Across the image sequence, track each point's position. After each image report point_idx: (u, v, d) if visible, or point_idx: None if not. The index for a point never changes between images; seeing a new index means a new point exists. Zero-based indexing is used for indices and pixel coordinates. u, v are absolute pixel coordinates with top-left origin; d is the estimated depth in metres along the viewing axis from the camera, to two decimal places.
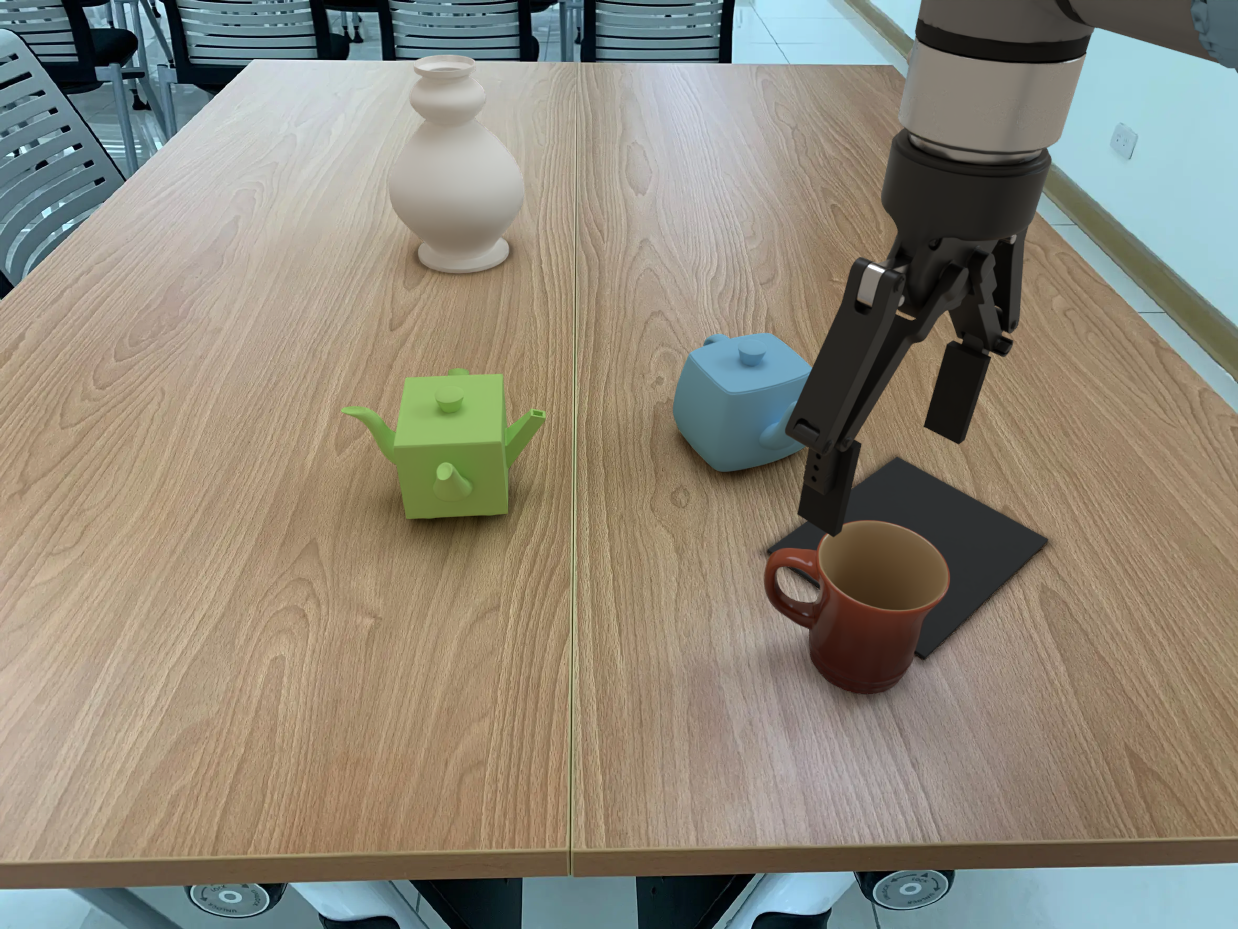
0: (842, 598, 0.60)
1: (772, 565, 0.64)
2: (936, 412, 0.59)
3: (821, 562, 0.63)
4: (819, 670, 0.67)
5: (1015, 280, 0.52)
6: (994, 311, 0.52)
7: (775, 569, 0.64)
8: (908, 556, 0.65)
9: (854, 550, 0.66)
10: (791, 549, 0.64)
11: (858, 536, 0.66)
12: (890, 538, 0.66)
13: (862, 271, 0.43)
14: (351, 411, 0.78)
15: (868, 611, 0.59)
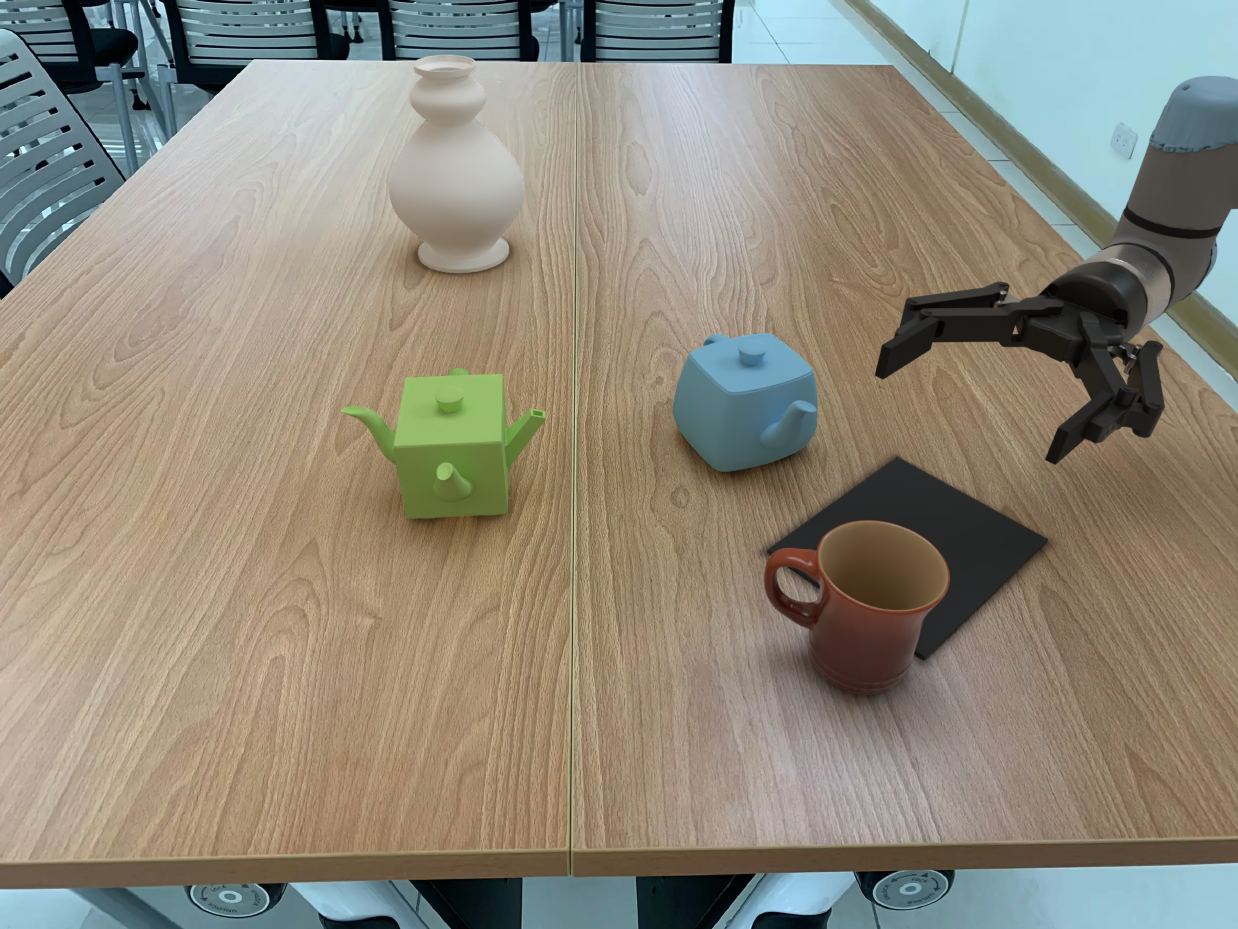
0: (842, 598, 0.60)
1: (772, 565, 0.64)
2: None
3: (821, 562, 0.63)
4: (819, 670, 0.67)
5: (1148, 372, 0.63)
6: (1116, 370, 0.63)
7: (775, 569, 0.64)
8: (908, 556, 0.65)
9: (854, 550, 0.66)
10: (791, 549, 0.64)
11: (858, 536, 0.66)
12: (890, 538, 0.66)
13: None
14: (351, 411, 0.78)
15: (869, 611, 0.59)
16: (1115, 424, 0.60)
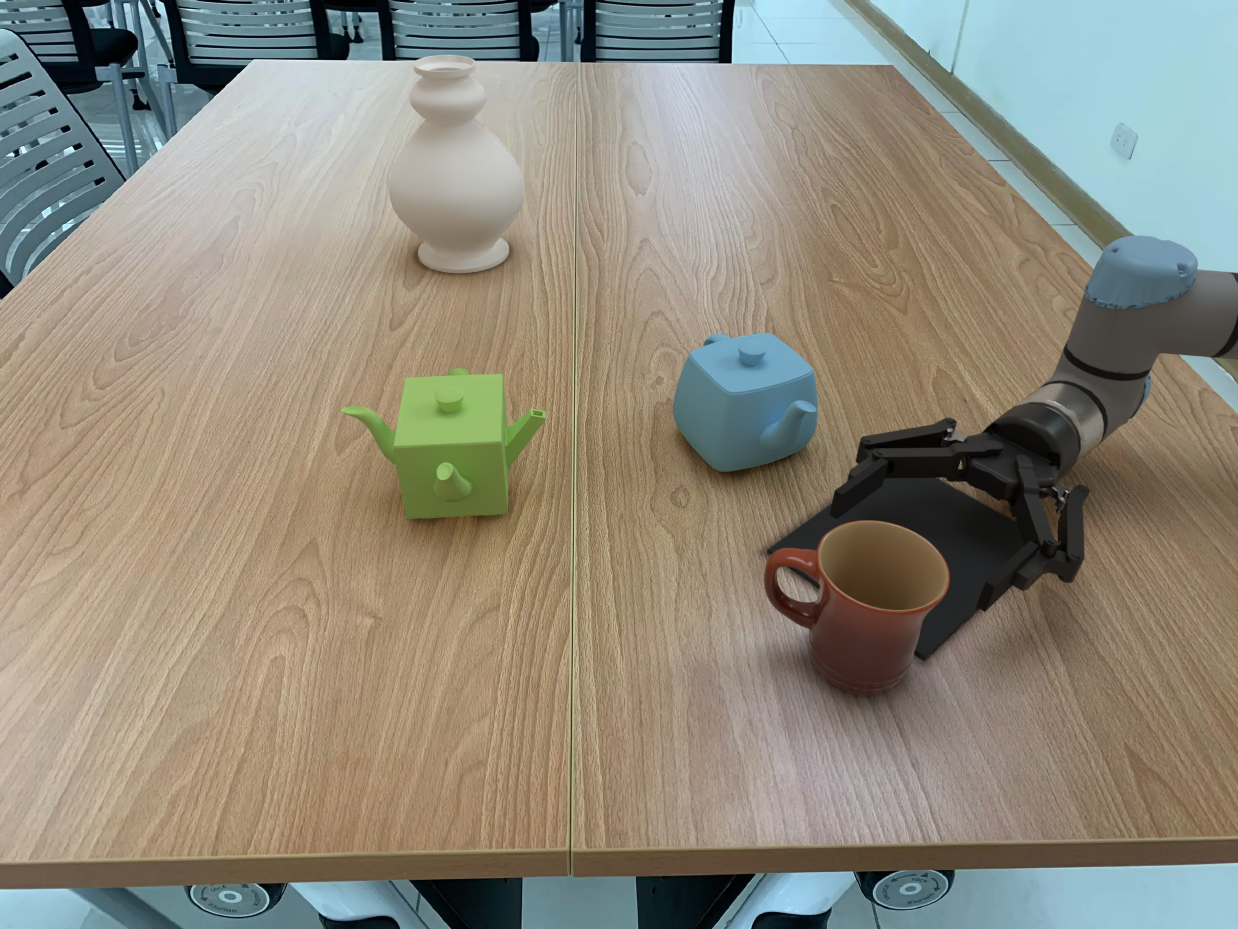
0: (842, 598, 0.60)
1: (772, 565, 0.64)
2: None
3: (821, 562, 0.63)
4: (819, 670, 0.67)
5: (1074, 520, 0.70)
6: (1045, 517, 0.70)
7: (775, 569, 0.64)
8: (908, 556, 0.65)
9: (854, 550, 0.66)
10: (791, 549, 0.64)
11: (858, 536, 0.66)
12: (890, 538, 0.66)
13: None
14: (351, 411, 0.78)
15: (868, 610, 0.59)
16: (1040, 573, 0.67)
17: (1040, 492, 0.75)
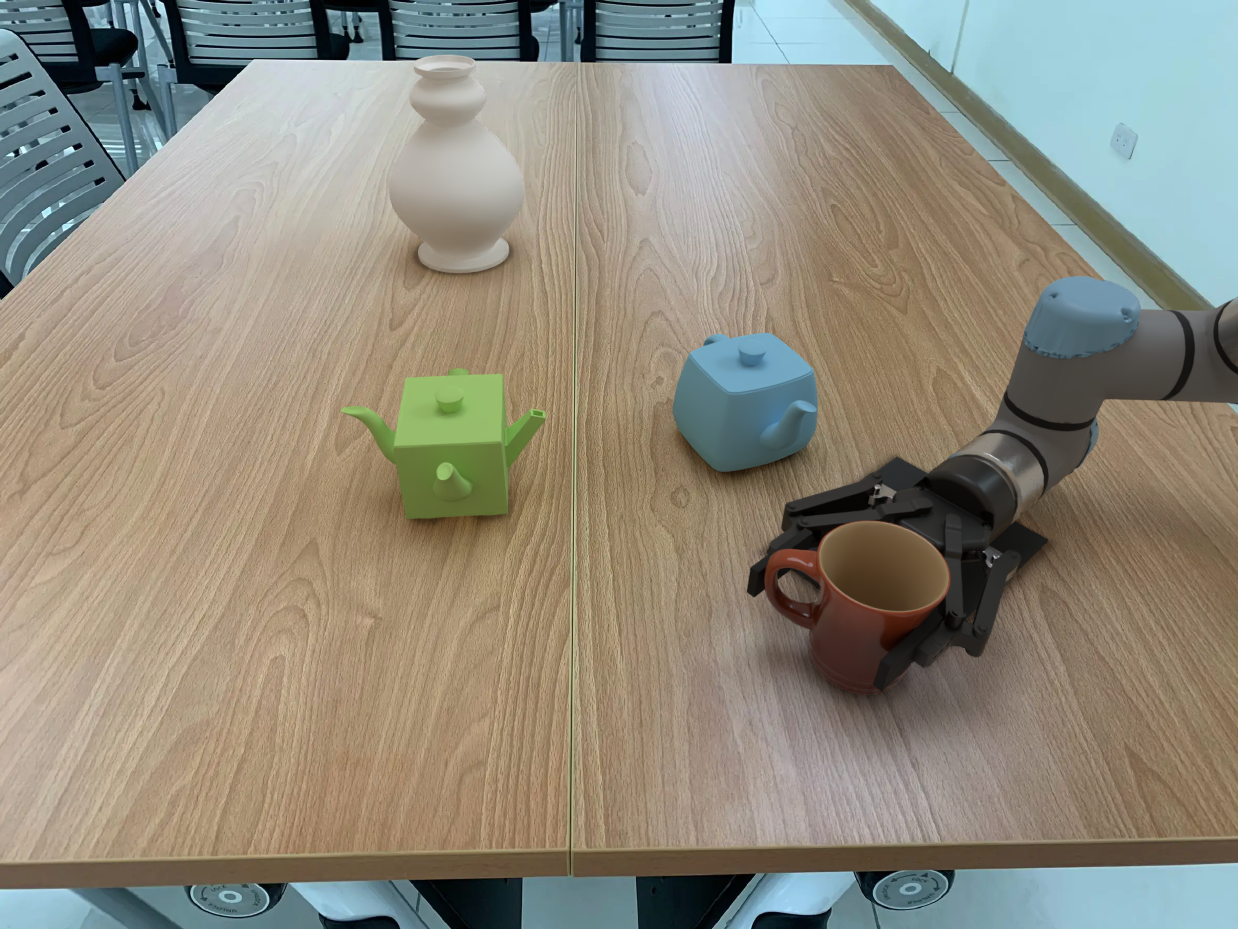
0: (843, 599, 0.60)
1: (773, 566, 0.64)
2: None
3: (822, 563, 0.63)
4: (820, 671, 0.67)
5: (992, 589, 0.65)
6: (960, 585, 0.65)
7: (775, 570, 0.64)
8: (908, 556, 0.65)
9: (854, 551, 0.66)
10: (791, 550, 0.64)
11: (858, 536, 0.66)
12: (890, 538, 0.66)
13: None
14: (351, 411, 0.78)
15: (870, 612, 0.59)
16: (944, 647, 0.62)
17: (972, 554, 0.70)
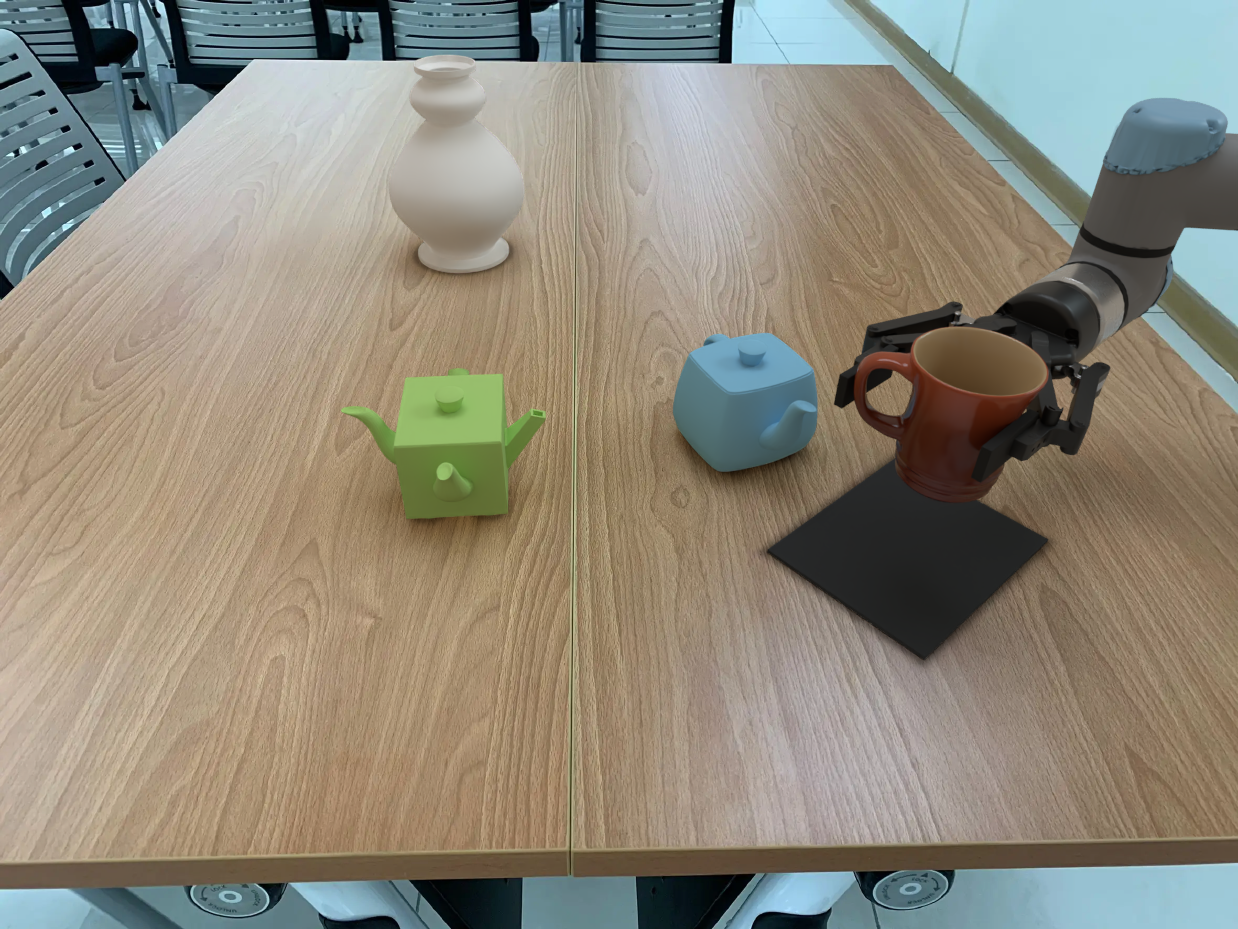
0: (942, 388, 0.60)
1: (865, 367, 0.64)
2: None
3: (917, 359, 0.62)
4: (908, 482, 0.67)
5: (1085, 392, 0.64)
6: (1052, 389, 0.65)
7: (867, 372, 0.64)
8: (999, 361, 0.65)
9: (944, 358, 0.66)
10: (883, 352, 0.64)
11: (948, 342, 0.65)
12: (981, 344, 0.65)
13: None
14: (351, 411, 0.78)
15: (971, 397, 0.59)
16: (1041, 442, 0.61)
17: (1057, 371, 0.69)
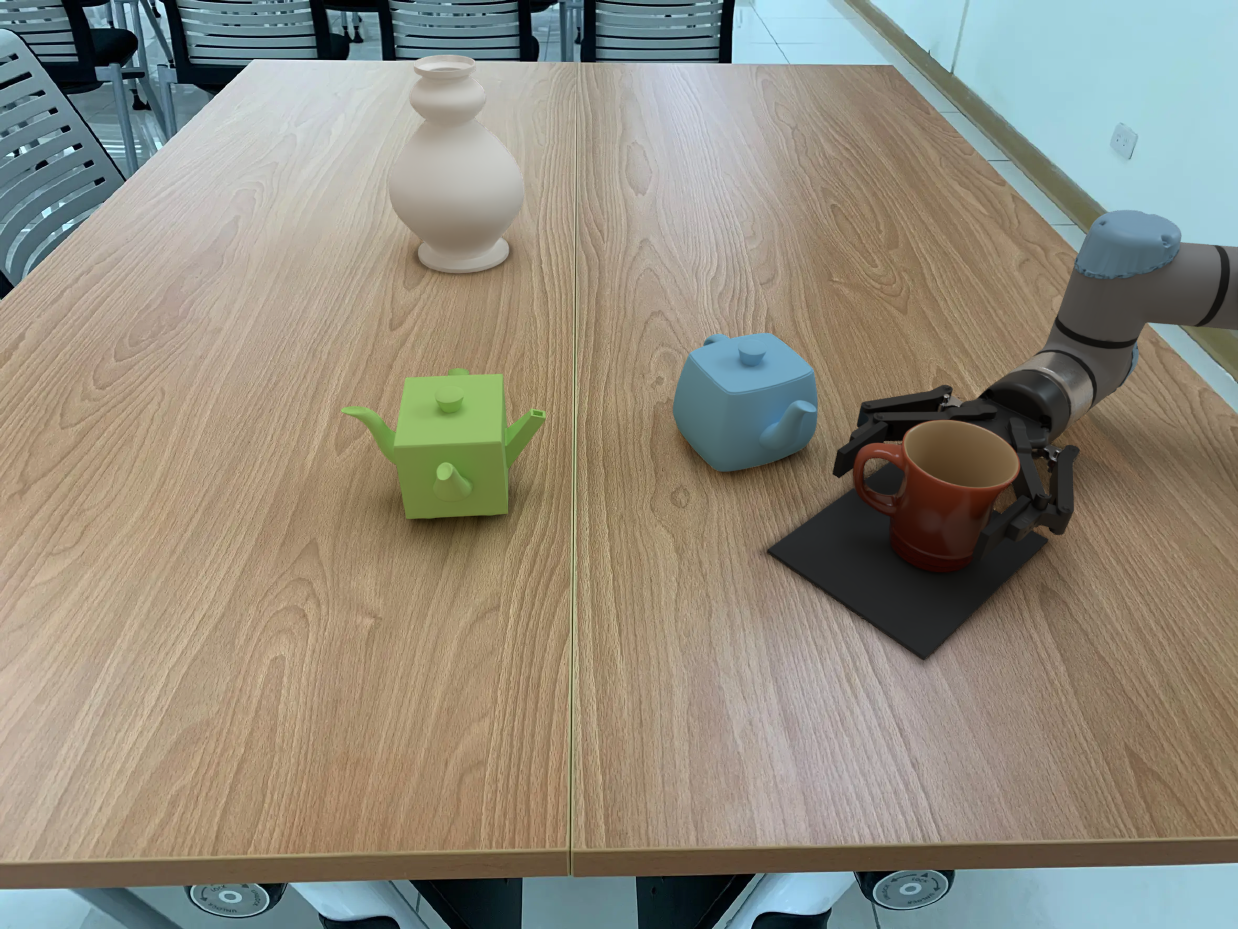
0: (928, 479, 0.70)
1: (862, 457, 0.74)
2: None
3: (907, 452, 0.72)
4: (900, 553, 0.77)
5: (1064, 476, 0.74)
6: (1036, 474, 0.74)
7: (865, 461, 0.74)
8: (979, 450, 0.75)
9: (931, 447, 0.76)
10: (878, 443, 0.74)
11: (935, 433, 0.75)
12: (963, 435, 0.75)
13: None
14: (351, 411, 0.78)
15: (952, 488, 0.69)
16: (1032, 525, 0.71)
17: (1032, 453, 0.79)
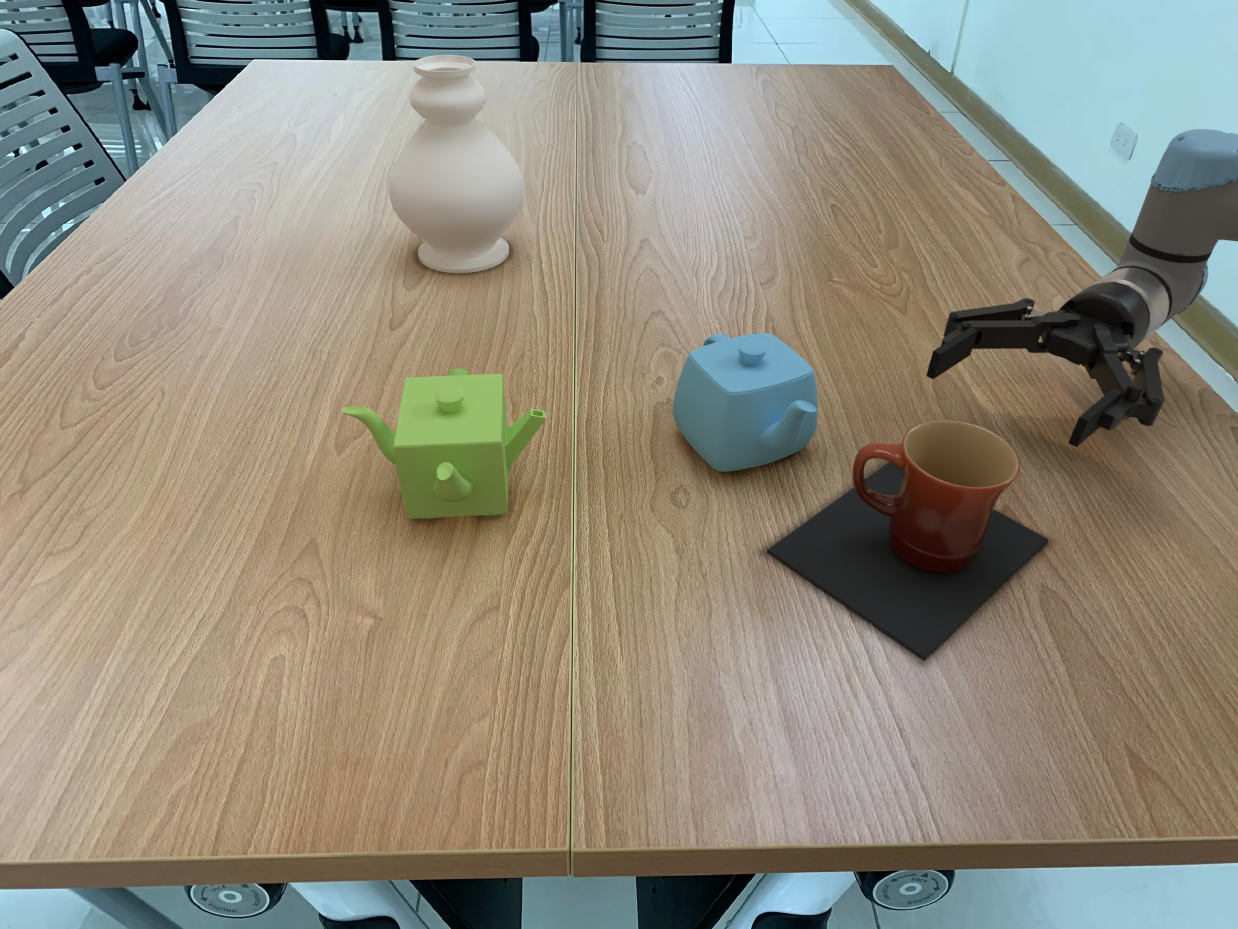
0: (928, 479, 0.70)
1: (862, 457, 0.74)
2: None
3: (907, 452, 0.72)
4: (900, 553, 0.77)
5: (1151, 373, 0.78)
6: (1125, 371, 0.78)
7: (865, 461, 0.74)
8: (979, 450, 0.75)
9: (931, 447, 0.76)
10: (878, 443, 0.74)
11: (935, 433, 0.75)
12: (963, 435, 0.75)
13: None
14: (351, 411, 0.78)
15: (952, 488, 0.69)
16: (1124, 415, 0.75)
17: None
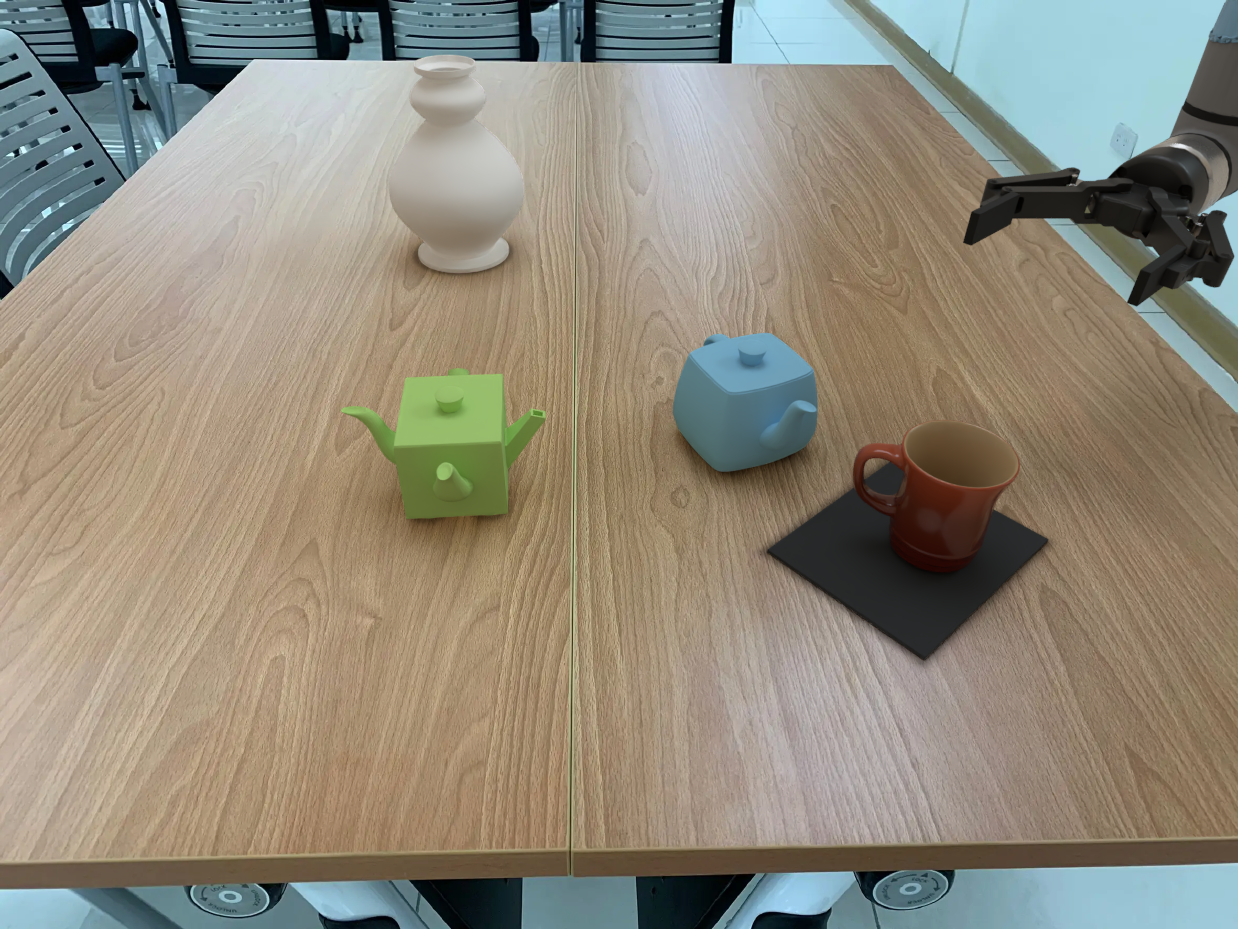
0: (928, 479, 0.70)
1: (862, 457, 0.74)
2: None
3: (907, 452, 0.72)
4: (900, 553, 0.77)
5: (1216, 232, 0.70)
6: (1187, 230, 0.70)
7: (865, 461, 0.74)
8: (979, 450, 0.75)
9: (931, 447, 0.76)
10: (878, 443, 0.74)
11: (935, 433, 0.75)
12: (963, 435, 0.75)
13: None
14: (351, 411, 0.78)
15: (952, 488, 0.69)
16: (1189, 273, 0.67)
17: None
